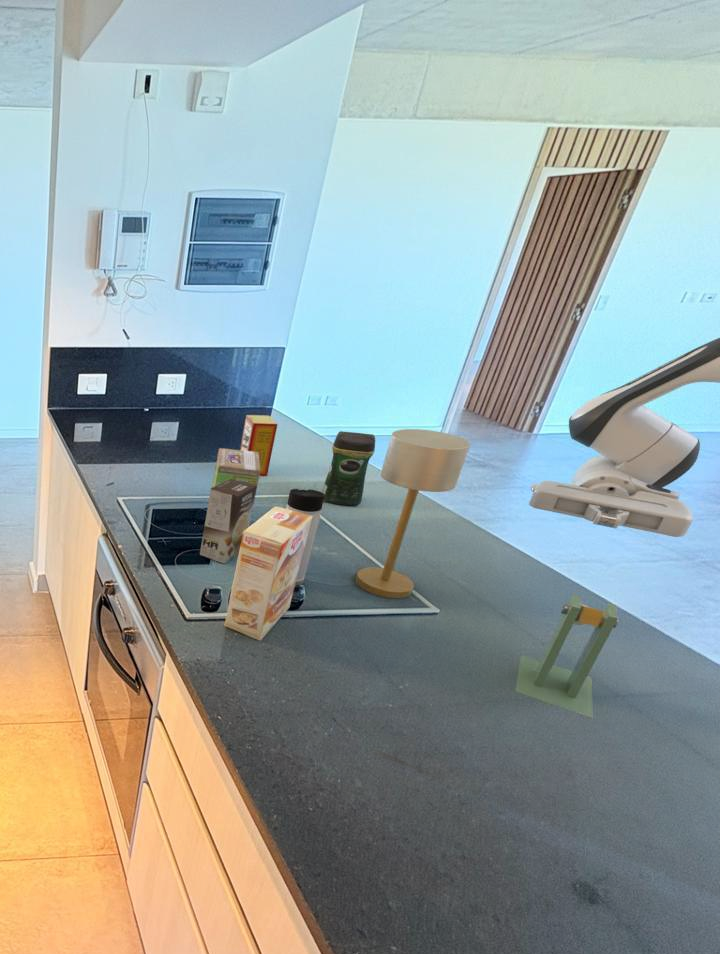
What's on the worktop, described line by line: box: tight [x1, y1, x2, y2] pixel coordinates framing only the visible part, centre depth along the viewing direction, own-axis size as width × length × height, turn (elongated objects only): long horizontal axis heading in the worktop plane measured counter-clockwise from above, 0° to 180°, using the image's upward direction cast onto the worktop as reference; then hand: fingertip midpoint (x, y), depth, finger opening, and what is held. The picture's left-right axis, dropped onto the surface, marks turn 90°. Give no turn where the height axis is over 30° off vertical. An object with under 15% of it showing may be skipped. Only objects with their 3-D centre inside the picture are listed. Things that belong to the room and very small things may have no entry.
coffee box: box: [199, 479, 258, 565], centre depth 134 cm, size 9×6×16 cm
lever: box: [572, 602, 604, 627], centre depth 94 cm, size 13×4×4 cm, turn 140°
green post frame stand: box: [515, 593, 620, 719], centre depth 93 cm, size 12×9×16 cm
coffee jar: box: [321, 430, 376, 506], centre depth 160 cm, size 10×8×19 cm
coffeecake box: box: [224, 505, 313, 641], centre depth 111 cm, size 15×7×20 cm, turn 137°
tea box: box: [211, 447, 261, 488], centre depth 155 cm, size 15×10×15 cm
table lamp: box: [355, 428, 471, 599], centre depth 118 cm, size 12×12×31 cm
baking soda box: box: [239, 414, 278, 477], centre depth 182 cm, size 10×6×16 cm
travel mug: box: [285, 488, 325, 586], centre depth 123 cm, size 6×7×20 cm
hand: (606, 522), depth 101 cm, fingers closed
